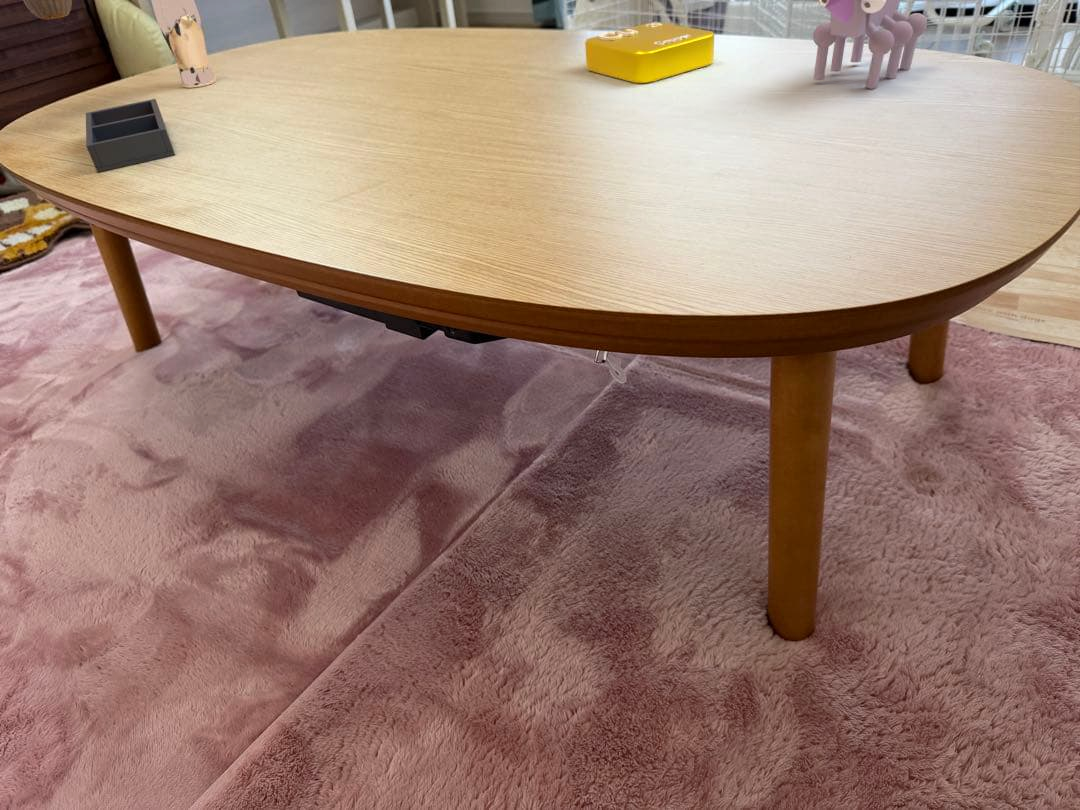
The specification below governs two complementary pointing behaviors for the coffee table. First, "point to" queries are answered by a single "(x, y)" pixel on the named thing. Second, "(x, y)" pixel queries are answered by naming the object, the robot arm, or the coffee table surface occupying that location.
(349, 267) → the coffee table surface
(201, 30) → the beer glass
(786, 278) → the coffee table surface
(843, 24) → the pink figurine
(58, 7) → the vase
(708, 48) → the element tile
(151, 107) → the holder
